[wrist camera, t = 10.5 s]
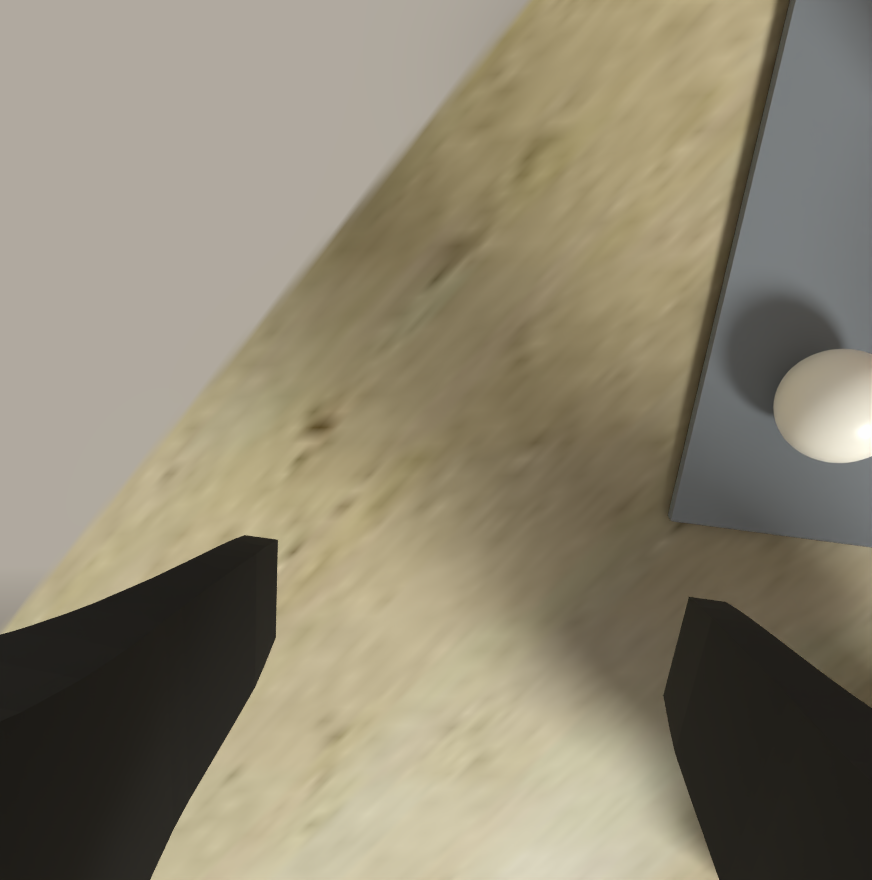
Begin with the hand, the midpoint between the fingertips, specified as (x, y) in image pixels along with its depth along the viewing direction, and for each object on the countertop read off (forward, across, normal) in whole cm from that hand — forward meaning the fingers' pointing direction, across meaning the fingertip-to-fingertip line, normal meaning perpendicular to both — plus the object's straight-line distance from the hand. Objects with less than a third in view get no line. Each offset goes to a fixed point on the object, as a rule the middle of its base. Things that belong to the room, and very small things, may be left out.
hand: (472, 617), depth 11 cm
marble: (+9, -9, -3) cm, 13 cm away
